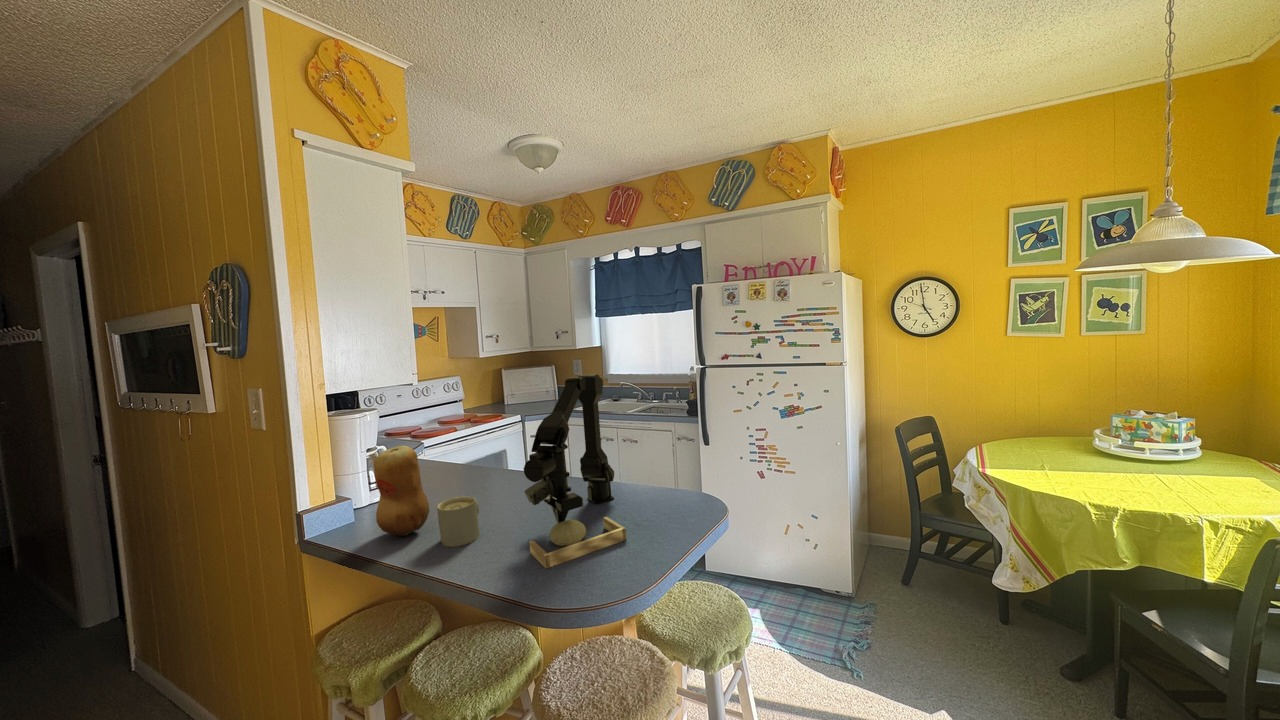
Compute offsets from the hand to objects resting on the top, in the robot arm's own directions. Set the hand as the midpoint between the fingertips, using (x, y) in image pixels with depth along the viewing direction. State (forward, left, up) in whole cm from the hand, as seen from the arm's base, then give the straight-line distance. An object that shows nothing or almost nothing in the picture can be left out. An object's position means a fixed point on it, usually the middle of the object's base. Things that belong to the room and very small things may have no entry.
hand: (560, 525), depth 136 cm
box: (0, +11, -2) cm, 11 cm away
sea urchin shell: (0, +5, -2) cm, 6 cm away
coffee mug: (+21, -17, -2) cm, 27 cm away
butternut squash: (+34, -31, -2) cm, 46 cm away
